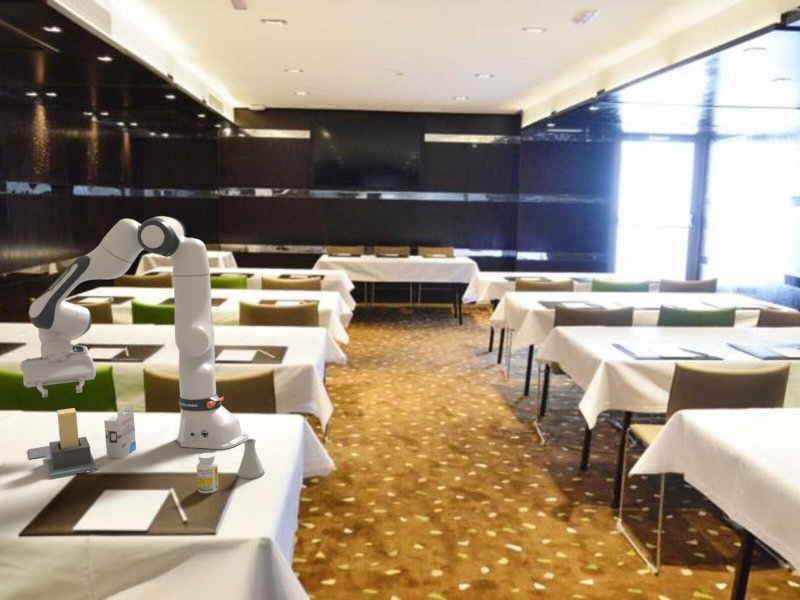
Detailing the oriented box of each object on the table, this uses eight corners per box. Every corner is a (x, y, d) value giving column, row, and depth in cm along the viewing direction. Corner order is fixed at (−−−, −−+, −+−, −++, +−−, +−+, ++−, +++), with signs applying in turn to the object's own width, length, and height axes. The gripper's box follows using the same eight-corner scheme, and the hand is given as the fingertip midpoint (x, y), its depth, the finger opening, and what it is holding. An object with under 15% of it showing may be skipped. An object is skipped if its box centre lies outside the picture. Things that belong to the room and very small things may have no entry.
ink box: (122, 448, 232) (119, 402, 230) (136, 449, 231) (133, 402, 229) (106, 458, 224) (102, 410, 222) (121, 459, 223) (117, 411, 221)
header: (50, 458, 221) (49, 442, 221) (87, 452, 226) (85, 436, 225) (53, 469, 213) (52, 452, 212) (91, 463, 217) (90, 446, 217)
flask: (251, 481, 206) (250, 446, 204) (232, 476, 209) (230, 442, 208) (269, 473, 212) (268, 438, 210) (250, 468, 215) (249, 434, 214)
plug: (61, 456, 220) (57, 410, 218) (78, 453, 222) (74, 408, 220) (62, 461, 216) (58, 414, 214) (79, 458, 218) (76, 412, 216)
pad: (28, 450, 231) (28, 449, 231) (60, 445, 236) (60, 444, 236) (29, 459, 224) (29, 458, 223) (62, 454, 228) (62, 452, 228)
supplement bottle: (205, 495, 196) (203, 460, 195) (193, 490, 200) (191, 455, 198) (222, 489, 201) (221, 454, 199) (210, 484, 204) (208, 450, 202)
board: (46, 458, 225) (45, 455, 224) (89, 451, 230) (88, 447, 230) (51, 478, 209) (50, 475, 209) (97, 470, 215) (96, 466, 214)
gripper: (19, 353, 226) (23, 393, 219) (92, 346, 235) (98, 383, 229) (20, 365, 230) (24, 404, 223) (91, 357, 240) (97, 394, 233)
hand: (62, 393), depth 226 cm, fingers open, 8 cm apart
